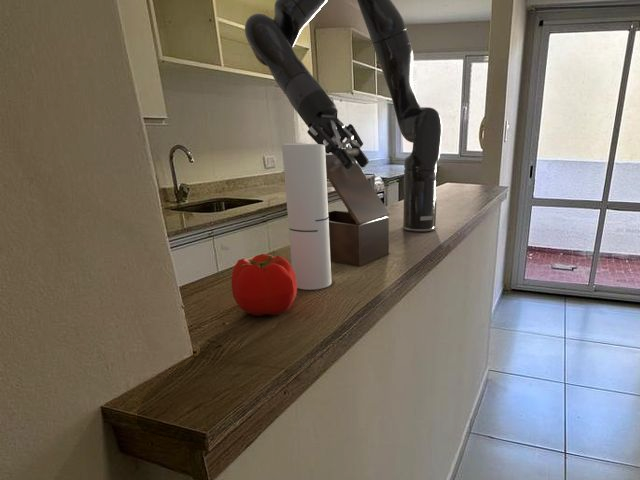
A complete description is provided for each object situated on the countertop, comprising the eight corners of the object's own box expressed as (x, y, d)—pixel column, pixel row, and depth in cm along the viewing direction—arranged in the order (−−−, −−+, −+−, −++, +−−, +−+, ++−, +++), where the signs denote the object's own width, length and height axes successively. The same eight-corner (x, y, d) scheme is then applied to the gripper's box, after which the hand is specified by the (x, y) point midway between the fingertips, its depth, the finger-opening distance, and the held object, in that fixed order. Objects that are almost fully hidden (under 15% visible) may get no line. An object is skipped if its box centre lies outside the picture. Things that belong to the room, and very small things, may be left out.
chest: (302, 255, 103) (300, 217, 100) (335, 244, 114) (334, 209, 110) (359, 266, 97) (358, 226, 93) (388, 253, 107) (388, 216, 104)
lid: (314, 157, 93) (328, 142, 90) (349, 155, 103) (363, 141, 100) (357, 224, 94) (372, 211, 91) (387, 215, 104) (402, 203, 101)
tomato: (258, 295, 79) (252, 247, 75) (313, 304, 76) (309, 254, 72) (215, 317, 69) (207, 264, 66) (276, 328, 66) (270, 273, 63)
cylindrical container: (339, 283, 86) (333, 145, 76) (307, 292, 81) (297, 145, 71) (317, 275, 90) (309, 143, 81) (286, 282, 85) (273, 143, 76)
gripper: (297, 85, 88) (349, 154, 88) (341, 91, 100) (386, 152, 100) (279, 114, 92) (328, 180, 92) (323, 116, 104) (366, 174, 104)
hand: (358, 165), depth 96 cm, fingers closed on lid, 5 cm apart
